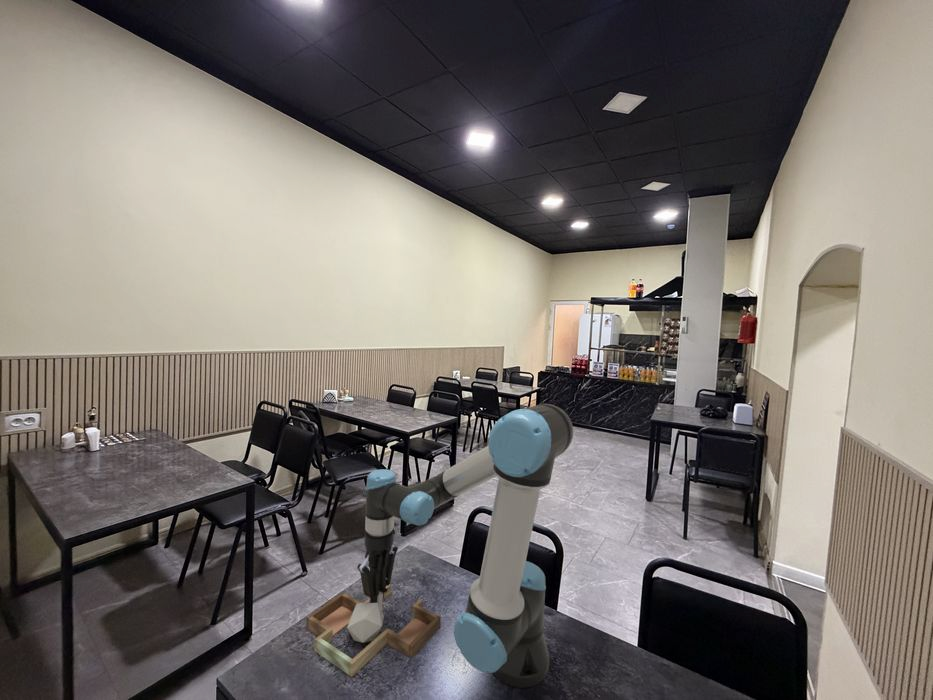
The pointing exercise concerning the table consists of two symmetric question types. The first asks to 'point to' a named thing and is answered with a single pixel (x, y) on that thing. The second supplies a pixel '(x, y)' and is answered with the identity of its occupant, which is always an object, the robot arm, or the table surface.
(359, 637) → the die
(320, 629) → the channel
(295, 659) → the table surface
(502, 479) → the robot arm
